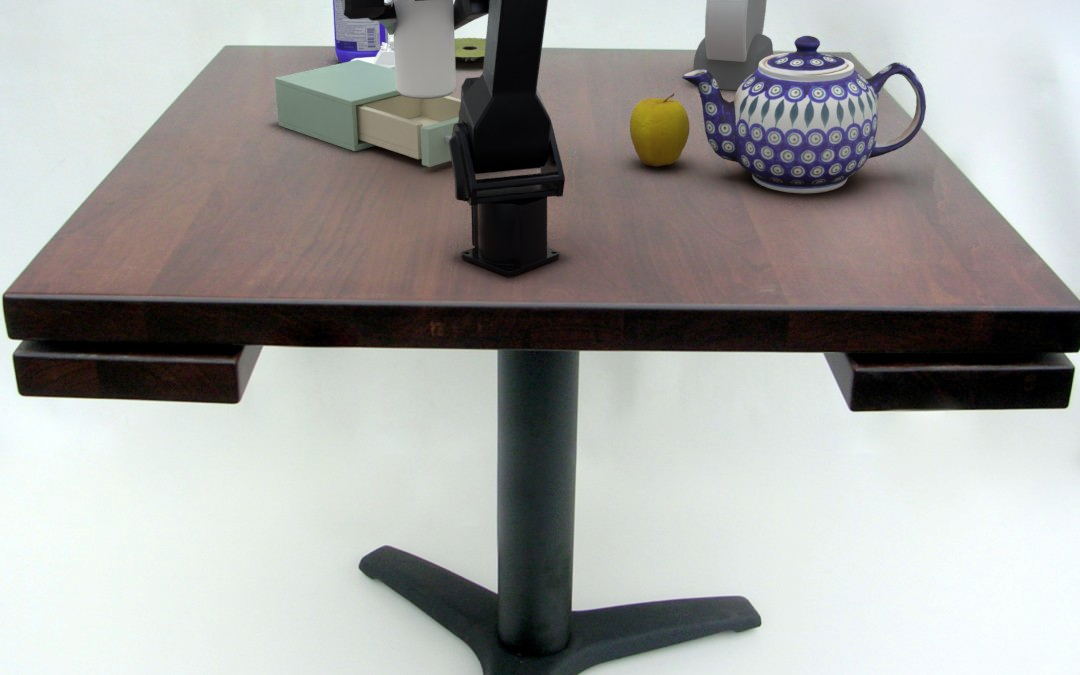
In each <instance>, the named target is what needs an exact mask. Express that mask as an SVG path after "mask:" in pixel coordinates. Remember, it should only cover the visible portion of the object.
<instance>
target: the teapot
mask: <svg viewBox="0 0 1080 675" xmlns="http://www.w3.org/2000/svg"><path fill="white" fill-rule="evenodd" d="M793 43H794V46H795V48H796V51H795V52H784V53H778V54H777V53H775V54H773V55H771V56H768V57H766V58H764V59H762V60H761V61H760V62H759V67H758V68H757V69H756V71H755V72H754V73H753V74H752V75H750V76H749V77H748V78H746V79H745V80H744V81H743V83H742V84H741V85H740V87H739V88H738V90H736V92H735V95H734V97H733V100H731V101H728V100H726V99H725V98H724V97H723V94H722V93H721V89H719V85H718V84H717V82H716V80H715V79H714V77H713V75H712V74H711V73H710V72H709V71H708V70H704V69H700V70H695V71H693V70H692V71H689V72H687V73H685V74H683V75H682V77H681V78H682V79H683V80H685V81H686V82H688V83H690V84H692V85H694V86H695V85H696V86H697V87H696V86H695V87H696V88H697V90H698V92H699V96H700V101H701V107H702V115H703V116H702V117H703V123H704V130H705V132H704V133H705V135H706V139H707V142H708V144H709V145H710V147H711V148H712V150H713V151H714V153H715V154H716V155H717V156H718V157H720V158H721V159H723V160H726V161H730V162H733V163H734V162H735V163H738V164H739V165H740V166H741V167H742V168H743V169H744V170H746V171H747V172H749V173H751V176H752V179H753V180H754V181H755V182H756V183H757V184H759V185H760V186H762V187H765V188H767V189H771V190H774V191H779V192H784V193H790V194H791V193H794V194H818V193H826V192H830V191H831V192H832V191H835V190H837V189H839V188H841V187H843V186H844V185H845V184H846V182H847V181H848V178H850V177H851V176H853V175H854V174H856V173H857V172H858V171H859V170H861V168H862V167H863V166H864V165H865V164H866V163H867V161H868V160H869V159H873V158H876V157H880V156H883V155H886V154H890V153H892V152H894V151H897V150H899V149H901V148H902V147H904V146H905V145H907V144H909V143H910V142H911V141H912V140H913V139H914V138H915V137H916V136H917V134H918V133H919V131H920V130H921V128H922V126H923V123H924V121H925V117H926V112H927V111H926V110H927V102H926V101H927V100H926V93H925V89H924V86H923V84H922V83H921V81H920V79H919V77H918V76H917V74H916V73H915V72H914V71H913V70H912V68H910V67H909V66H907V65H906V64H904V63H903V62H892V63H890V64H888V65H886V66H884V67H883V68H882V69H880V70H879V71H878V72H876V73H875V74H874V75H872V76H871V77H869V78H865V77H864V76H863V75H861V74H860V73H859V72H858V71H856V70H855V64H854V63H853V62H852V61H851V60H848V59H846V58H844V57H841V56H838V55H832V54H827V53H822V52H821V53H820V52H818V51H817V50H818V49H819V48H820V46H821V41H820V39H819V38H817V37H815V36H812V35H802V36H800V37H797V38H796V39H795V40H794V42H793ZM895 75H900V76H902V77H904V79H905V80H906V82H908V83H909V84H910V86H911V88H912V90H913V92H914V94H915V101H916V102H915V103H916V104H915V112H914V116H913V118H912V121H911V122H910V124H909V125H908V126H907V128H906V129H905V130H904V131H903V132H902V133H901V134H900V135H897V137H895V138H893V139H890V140H888V141H885V142H881V141H878V140H876V138H877V131H878V120H879V119H878V118H879V117H878V116H879V114H878V100H879V98H880V97H881V94H882V91H883V89H884V87H885V85H886V83H887V81H888V80H889V78H891V77H892V76H895Z"/></svg>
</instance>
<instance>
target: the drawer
mask: <svg viewBox="0 0 1080 675" xmlns="http://www.w3.org/2000/svg"><path fill="white" fill-rule="evenodd" d="M460 104H461V98H457V97H454V96H451V95H448V96H445V97H441V98H434V99H415V98H408V97H404V96H402V95H401V94H400V95H396V96H392V97H388V98H384V99H380V100H376V101H372V102H368V103H364V104H360V105H356V117H357V134H358V140H361V141H364V142H367V143H370V144H373V145H376V146H375V147H379V148H383V149H386V150H389V151H392V152H395V153H398V154H401V155H404V156H407V157H409V158H412V159H415V160H421V166H424V167H427V168H431V167H434V166H438V165H442V164H444V163H448V162H452V161H451V155H450V149H449V140H450V139H451V136H452V133H453V126H454V124H455V123H458V120H459V110H460Z"/></svg>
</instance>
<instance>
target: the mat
mask: <svg viewBox="0 0 1080 675" xmlns="http://www.w3.org/2000/svg"><path fill="white" fill-rule="evenodd" d="M454 39H455V58H461V60H462V61H464V62H468V61H473V62H474V61H477V60H478V58H481V57H484V56H485V45H486V37H485V38H482V37H481V38H480V37H461V38H460V37H458V38H456V37H454Z"/></svg>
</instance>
